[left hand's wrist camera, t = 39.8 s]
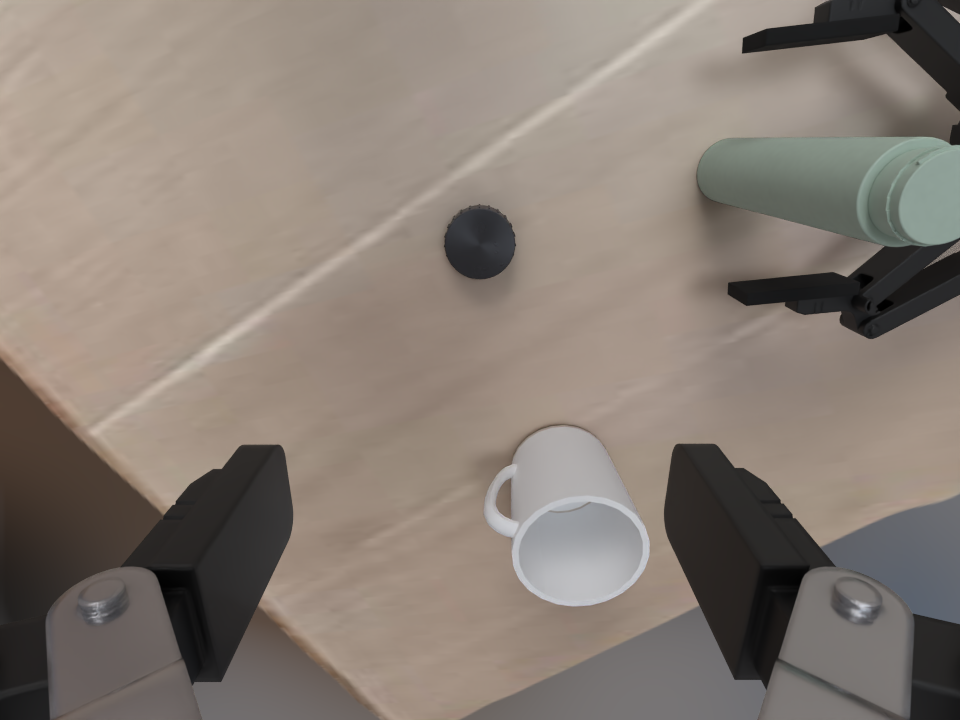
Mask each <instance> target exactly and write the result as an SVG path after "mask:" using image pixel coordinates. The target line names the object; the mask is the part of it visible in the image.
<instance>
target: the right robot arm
mask: <svg viewBox="0 0 960 720" xmlns="http://www.w3.org/2000/svg"><path fill="white" fill-rule="evenodd" d="M943 6H944V7H946V8H948V9H950V10H952V11H954V12H956V13H958V14H960V0H829V1H826V2H824V3H823V4H821V5H819V6H817V7H815V14H814V23H812V24H804V25H795V26H786V27H778V28H769V29H765V30H762V31H760V32H757V33H755V34H752V35H749V36H747V37H744V38H743V46H742V53H751V52H760V51H768V50H777V49H786V48H795V47H804V46H812V45H821V44H830V43H839V42H847V41H856V40H864V39H868V38H872V37H875V36H879V35H883V34H887V35H888V36H889V37H890V38H891V39H892V40H893V41H895V42H896V43H897V44H898V45H899V46H900V47H901V48H902V49H903V50H904V51H905V52H906V53H907V54H908V55H909V56H910V57H911V58H912V59H913V60H914V61H915V62H916V63H917V64H919V65H920V66H921V67H922V68H923V69H924V70H925V71H926V72H927V73H928V74H929V75H930V76H931V77H932V78H933V79H934V80H935V81H936V82H937V83H938V84H939V85H940V86H942V87H943V88H944V89H945V90H946V92H947V94H946V95H945V96H946V98H947V99H948V100H949V101H950V102H951V103H952V104H953V105H954V106H955V107H956V108H957V109H958V110H959V111H960V23H959V22H958V21H957V20H956V19H955V18H954V17H953V16H952V15H951V14H950V13H949V12H948V11H947V10H946V9H945V8H944V7H943ZM950 145H952V146H953V145H960V121H959V123H958V125H953V126H952V131H951V136H950ZM959 240H960V238H958V239H956V240H954V241H951V242H948V243H945V244H940V245H932V246H926V247H925V246H916V245H908V246H904V247H889V246H885V247H884V248H882V249H881V250H880V251H879V252H878V253H876V254H875V255H874V256H873V257H871V258H870V259H869V260H868V261H867V262H865V263H864V264H863V265H862V266H860V267H859V268H858V269H857V270H856V271H854V272H853V273H852V274H851V275H850V276H848V277H845V276H842V275H839V274H837V273H834V272H830V273H820V274H810V275H800V276H790V277H780V278H770V279H760V280H749V281H739V282H729V283H728V295H730V296H731V297H733V298H735V299H736V300H738V301H739V302H741V303H743V304H744V305H746V306H750V305H760V304H770V303H780V302H785V306H786V307H788V308H789V309H791V310H793V311H795V312H797V313H800V314H804V315H808V314H818V313H828V312H839V311H841V313H842V314H841V316H840V323H841V325H843V326H845V327H847V328H848V329H850V330H852V331H854V332H856V333H858V334H860V335H862V336H864V337H866V338H868V339H874V338H877V337H879V336H881V335H882V334H884V333H886V332H888V331H890V330H892V329H894V328H896V327H898V326H900V325H902V324H904V323H906V322H908V321H910V320H912V319H913V318H915V317H917V316H919V315H921V314H923V313H925V312H927V311H929V310H931V309H933V308H935V307H937V306H939V305H941V304H943V303H945V302H946V301H948V300H950V299H952V298H954V297H956V296H958V295H960V251H959V252H956V253H954V254H952V255H949V256H947V257H945V258H943V259H942V260H940V261H938V262H936V263H934V264H932V265H930V266H928V267H926V266H927V265H929V264H930V263H931V262H932V261H934V260H935V259H936V258H937V257H939V256H940V255H941V254H942V253H944V252H945V251H946V250H948V249H949V248H950V247H951V246H953V245H954V244H955V243H956V242H958V241H959ZM925 267H926V268H925ZM924 268H925V269H924ZM922 269H923V270H922Z"/></svg>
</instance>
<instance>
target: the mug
mask: <svg viewBox="0 0 960 720" xmlns="http://www.w3.org/2000/svg"><path fill="white" fill-rule="evenodd" d="M508 479H511V519H509V518H507V517H505V516H503V515H502V514H501V513H500V512H499V511H498V509H497V507H496V498H497V494H498V491H499V489H500V487H501V485H502V484H503V483H504V482H505V481H506V480H508ZM484 516H485V518H486V521H487V523H488V524H489V526H490V527H491V528H493V529H494V530H495V531H496V532H498V533H500V534H502V535H505V536H507V537H511V540H512V558H513V566H514V569H515V571H516V573H517V575H518V578H519V579H520V581H521V582H522V583H523V584H524V585H525V586H526V587H527V589H528V590H529V591H531V592H532V593H534V594H535V595H537V596H538V597H540V598H541V599H544V600H547V601H550V602H552V603H555V604H559V605H567V606H587V605H594V604H597V603H601V602H604V601H608V600H610V599H612V598H614V597H616V596H618V595H619V594H621V593H623V592H624V591H626V590H627V589H628V588H629V587H630V586H631V585H633V584H634V583H635V582H636V581H637V579H638V578H639V576H640V575H641V573H642V572H643V571H644V569H645V566H646V563H647V560H648V557H649V538H648V535H647V532H646V529H645V526H644V523H643V522H642V520H641V518H640V516H639V514H638V512H637V510H636V508H635V506H634V504H633V502H632V500H631V498H630V496H629V494H628V492H627V490H626V488H625V486H624V484H623V482H622V480H621V478H620V476H619V474H618V472H617V470H616V468H615V466H614V464H613V462H612V460H611V458H610V456H609V454H608V453H607V451H606V448H605V447H604V446H603V444H602V443H601V441H600V440H599V439H598V438H597V437H595V436H594V435H593V434H591V433H590V432H589V431H586V430H584V429H581V428H579V427H575V426H568V425H558V426H550V427H547V428H544V429H541V430H538V431H536V432H535V433H533V434H532V435H530V436H528V437H527V438H526V439H525V440H524V441H523V442H522V443H521V444H520V445H519V447H518V448H517V450H516V452H515V454H514V456H513V459H512V464H511V465H509V466H507V467H505V468H503V469H502V470H501V471H500V472H499V473H498V474H497V475H496V477H495V479H494V480H493V482H492V483H491V485H490V486H489V488H488V491H487V494H486V497H485V501H484Z"/></svg>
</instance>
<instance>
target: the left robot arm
mask: <svg viewBox="0 0 960 720" xmlns="http://www.w3.org/2000/svg"><path fill="white" fill-rule="evenodd" d="M780 501H781V500H780V499H779V498H778V497H777V495H776V494H775V493H774V492H773V491H772V489H771V488H770V487H769V486H768V485H767V483H766V482H764V481H762V480H761V479H759V478H758V477H756V476H755V475H753V474H752V473H750V472H749V471H747V470H746V469H744V468H734V466H733V465H732V464H731V463H730V461H729V460H728V459H727V457H726V456H725V455H724V454H723V452H722V451H721V450H720V448H719V447H718V446H717V445H715V444H677V445H675V447H674V449H673V452H672V458H671V465H670V472H669V478H668V485H667V492H666V499H665V506H664V522H665V529H666V533H667V536H668V539H669V541H670V543H671V546H672V548H673V550H674V552H675V554H676V556H677V558H678V560H679V563H680V565H681V567H682V569H683V571H684V573H685V575H686V577H687V580H688V582H689V584H690V586H691V588H692V590H693V592H694V594H695V597H696V599H697V601H698V603H699V605H700V607H701V609H702V611H703V613H704V616H705V618H706V620H707V622H708V624H709V626H710V628H711V630H712V633H713V635H714V637H715V639H716V641H717V643H718V645H719V647H720V650H721V652H722V654H723V656H724V658H725V660H726V662H727V664H728V666H729V669H730V671H731V673H732V675H733V677H734V679H735V680H762V682H763V684H764V686H765V688H766V694H765V697H764V700H763V703H762V707H761V710H760V713H759V716H758V719H757V720H960V624H956V623H951V622H947V621H943V620H938V619H934V618H929V617H925V616H920V615H916V614H912V612H911V610H910V609H909V607H908V605H907V604H906V603H905V602H904V601H903V600H902V599H901V598H900V597H899V596H898V595H897V594H896V593H895V592H894V591H892V590H891V589H890V588H888V587H887V586H885V585H884V584H882V583H880V582H879V581H877V580H875V579H873V578H871V577H869V576H866V575H864V574H862V573H859V572H856V571H853V570H849V569H844V568H838V567H836V566H835V565H834V564H833V563H832V561H831V560H830V559H829V558H828V557H827V555H826V554H825V553H824V552H823V551H822V549H821V548H820V547H819V546H818V545H817V543H816V542H815V541H814V540H813V539H812V537H811V536H810V535H809V534H808V533H807V531H806V530H805V529H804V528H803V527H802V525H801V524H800V523H799V522H798V521H797V519H796V518H793V516H792V513H791V512H790V511H789V510H788V509H787V507H786V506H785V505H784V504H781V502H780ZM292 525H293V506H292V499H291V492H290V485H289V479H288V472H287V465H286V458H285V453H284V450H283V448H282V446H280V445H241V446H240V447H239V448H238V449H237V450H236V452H235V453H234V454H233V455H232V457H231V458H230V459H229V460H228V462H227V463H226V464H225V466H224V467H223V468H222V469H213V470H211V471H210V472H208V473H207V474H205V475H203V476H202V477H200V478H199V479H197V480H196V481H194V482H193V483H191V484H190V485H189V486H188V487H187V489H186V490H185V491H184V492H183V493H182V495H181V496H180V497H179V498H178V499H177V500H176V504H175V505H172V506H171V508H170V509H169V510H168V511H167V512H166V514H165V515H164V518H163V520H160V521H159V522H158V523H157V524H156V525H155V527H154V528H153V529H152V530H151V531H150V533H149V534H148V535H147V536H146V537H145V539H144V540H143V541H142V542H141V543H140V544H139V546H138V547H137V548H136V549H135V551H134V552H133V553H132V554H131V555H130V556H129V558H128V559H127V560H126V561H125V562H124V564H123V565H122V566H121V567H120V568H115V569H111V570H107V571H104V572H101V573H99V574H96V575H94V576H91V577H89V578H87V579H85V580H83V581H81V582H80V583H78V584H76V585H75V586H73V587H72V588H70V589H69V590H68V591H67V592H65V593H64V594H63V595H62V596H61V597H60V598H58V600H57V601H56V602H55V603H54V604H53V606H52V607H51V609H50V610H49V612H48V614H46V615H43V616H39V617H35V618H30V619H26V620H22V621H17V622H12V623H8V624H4V625H0V720H203V719H202V716H201V713H200V710H199V707H198V703H197V700H196V697H195V694H194V690H193V687H192V686H193V684H194V682H221V681H222V679H223V677H224V675H225V673H226V671H227V668H228V666H229V664H230V662H231V660H232V658H233V656H234V654H235V652H236V650H237V648H238V645H239V643H240V641H241V639H242V637H243V635H244V633H245V631H246V629H247V627H248V624H249V622H250V620H251V618H252V616H253V614H254V612H255V610H256V608H257V606H258V604H259V601H260V599H261V597H262V595H263V593H264V591H265V589H266V587H267V585H268V583H269V580H270V578H271V576H272V574H273V572H274V570H275V568H276V566H277V564H278V562H279V560H280V557H281V555H282V553H283V551H284V549H285V547H286V545H287V543H288V541H289V538H290V535H291V531H292Z"/></svg>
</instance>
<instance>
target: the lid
mask: <svg viewBox="0 0 960 720" xmlns="http://www.w3.org/2000/svg"><path fill="white" fill-rule="evenodd" d="M511 227H512V225H511V223H509V221H508V220H507V218H506V216H505V215H503V214H502V213H501V212H499V210H498V209H497V210H496V209H494V208H492V207H490V206H489V205H488V206H482V205H480V204H479V205H478V206H472V207H471V206H469V208H466V209H464V210H461V211H460V213H458V214H457V215H456V216H454V217H453V220H452V222H451V223H450V224H449V225H448V227H447V228H448V230H447V233H446V234H445V245H444V247H445V250H446V254H447V255H446V256H447V257H448V259H449V261H450V263H451V265H452V266H453V267H454V268H455V269H456V270H457V271H458V272H459V273H461V274H463V275H464V276H467V277H469V278H473V279H487V278H491V277H493V276H495V275H497V274H499V273H500V272H502V271H503V270H504V269H505V268H506V267H507V266H508V264H509V263H510V261H511V259H512V257H513V256H514V250H515V246H516V244H515V238H514V237H515V233H514V232H513V231H512V228H511Z"/></svg>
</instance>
